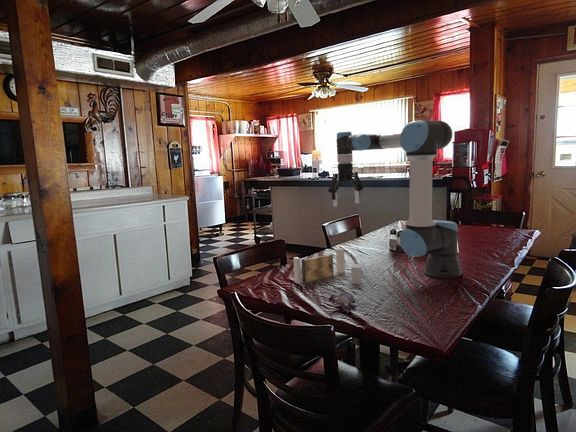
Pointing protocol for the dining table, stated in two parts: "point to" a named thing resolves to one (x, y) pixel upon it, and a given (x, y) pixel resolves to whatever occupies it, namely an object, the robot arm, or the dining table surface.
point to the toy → (344, 300)
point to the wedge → (356, 273)
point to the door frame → (340, 270)
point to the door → (317, 268)
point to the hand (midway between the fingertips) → (346, 204)
